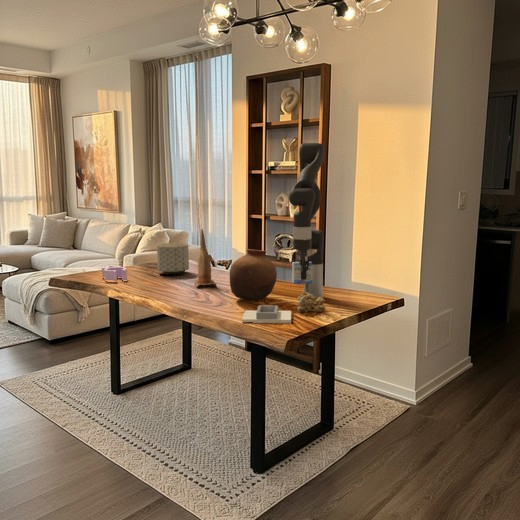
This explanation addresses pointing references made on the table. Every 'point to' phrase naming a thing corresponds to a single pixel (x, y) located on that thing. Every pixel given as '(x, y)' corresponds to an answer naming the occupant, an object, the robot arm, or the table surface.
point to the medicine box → (297, 273)
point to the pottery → (252, 276)
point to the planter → (173, 258)
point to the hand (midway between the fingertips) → (302, 278)
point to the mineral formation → (310, 303)
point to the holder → (267, 315)
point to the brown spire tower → (204, 265)
